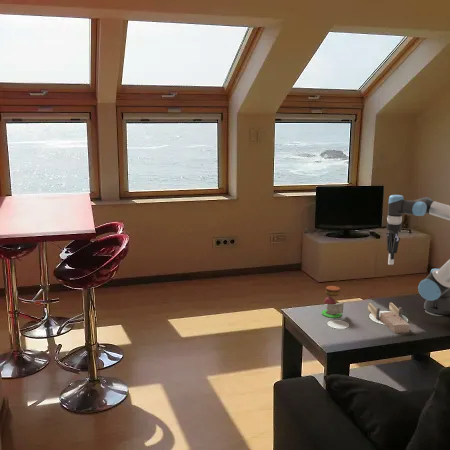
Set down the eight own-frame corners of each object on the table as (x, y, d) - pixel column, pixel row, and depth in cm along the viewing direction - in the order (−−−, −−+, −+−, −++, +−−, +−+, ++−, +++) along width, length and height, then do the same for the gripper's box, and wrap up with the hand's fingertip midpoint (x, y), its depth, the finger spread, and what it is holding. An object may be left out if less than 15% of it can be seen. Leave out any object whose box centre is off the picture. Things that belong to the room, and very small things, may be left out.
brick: (409, 332, 247) (410, 323, 246) (394, 333, 246) (394, 324, 245) (393, 319, 263) (394, 311, 262) (378, 320, 262) (379, 312, 261)
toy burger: (314, 313, 269) (316, 287, 266) (330, 308, 276) (331, 283, 273) (331, 320, 260) (333, 293, 257) (347, 315, 267) (349, 288, 264)
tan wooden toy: (391, 309, 276) (392, 299, 274) (401, 318, 263) (402, 308, 261) (367, 309, 275) (368, 299, 273) (376, 319, 262) (377, 308, 260)
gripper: (382, 220, 277) (379, 261, 282) (392, 225, 265) (389, 267, 270) (395, 220, 278) (392, 260, 283) (405, 225, 265) (402, 267, 270)
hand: (390, 264), depth 276 cm, fingers closed
